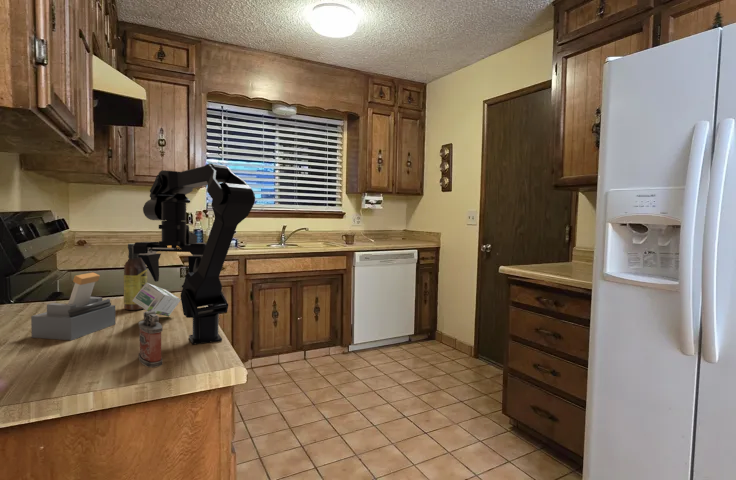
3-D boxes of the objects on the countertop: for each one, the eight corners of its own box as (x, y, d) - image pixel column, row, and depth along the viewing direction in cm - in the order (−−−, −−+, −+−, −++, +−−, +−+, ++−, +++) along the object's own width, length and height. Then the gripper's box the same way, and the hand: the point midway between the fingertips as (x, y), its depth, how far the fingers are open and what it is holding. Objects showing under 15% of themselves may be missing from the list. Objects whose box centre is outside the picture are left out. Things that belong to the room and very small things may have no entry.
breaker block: (115, 324, 107) (115, 296, 107) (71, 340, 93) (71, 308, 93) (80, 321, 108) (79, 294, 108) (31, 337, 94) (31, 305, 94)
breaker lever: (88, 309, 103) (100, 275, 102) (70, 314, 98) (82, 278, 97) (81, 305, 103) (93, 272, 102) (63, 311, 98) (74, 275, 97)
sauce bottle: (146, 310, 123) (146, 244, 122) (122, 311, 120) (122, 244, 119) (147, 305, 129) (148, 242, 128) (124, 306, 126) (124, 242, 125)
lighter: (135, 357, 84) (135, 309, 83) (152, 353, 86) (153, 307, 86) (147, 368, 78) (147, 317, 78) (166, 364, 81) (166, 314, 80)
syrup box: (152, 306, 117) (130, 301, 103) (165, 288, 118) (145, 282, 104) (169, 316, 117) (149, 313, 103) (182, 299, 118) (164, 293, 104)
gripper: (222, 221, 111) (222, 278, 112) (156, 220, 112) (156, 276, 113) (204, 221, 100) (204, 284, 101) (130, 220, 101) (131, 282, 102)
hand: (174, 281), depth 104 cm, fingers open, 9 cm apart
